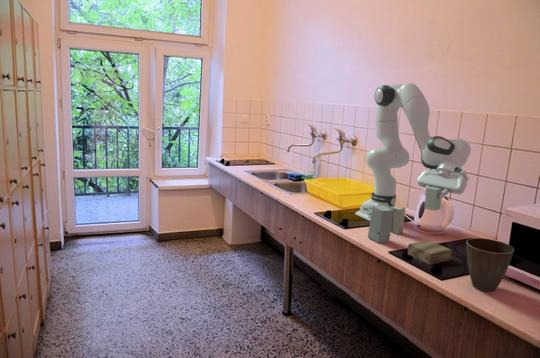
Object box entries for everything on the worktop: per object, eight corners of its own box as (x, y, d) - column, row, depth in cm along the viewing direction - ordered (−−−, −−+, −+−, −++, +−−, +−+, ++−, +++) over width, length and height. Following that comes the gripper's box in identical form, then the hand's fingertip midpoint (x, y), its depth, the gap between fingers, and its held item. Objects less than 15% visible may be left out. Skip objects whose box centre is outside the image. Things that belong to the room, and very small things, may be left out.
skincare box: (367, 237, 195) (370, 205, 192) (379, 236, 198) (382, 204, 195) (378, 243, 188) (381, 210, 184) (391, 242, 190) (394, 209, 187)
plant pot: (451, 280, 152) (457, 240, 149) (481, 275, 158) (487, 236, 154) (485, 300, 139) (492, 255, 135) (517, 293, 144) (524, 250, 141)
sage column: (424, 208, 175) (426, 187, 174) (430, 206, 178) (432, 186, 176) (434, 210, 172) (436, 189, 170) (440, 209, 175) (442, 188, 173)
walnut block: (407, 255, 177) (408, 244, 175) (427, 250, 182) (428, 240, 181) (429, 265, 166) (430, 254, 165) (450, 261, 171) (451, 249, 170)
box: (395, 230, 207) (397, 205, 204) (403, 232, 204) (405, 207, 201) (389, 232, 204) (392, 207, 201) (398, 234, 200) (400, 209, 198)
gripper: (423, 163, 184) (408, 187, 180) (468, 170, 168) (453, 197, 164) (428, 172, 187) (413, 196, 183) (472, 180, 171) (457, 206, 167)
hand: (432, 196), depth 173 cm, fingers closed on sage column, 4 cm apart
